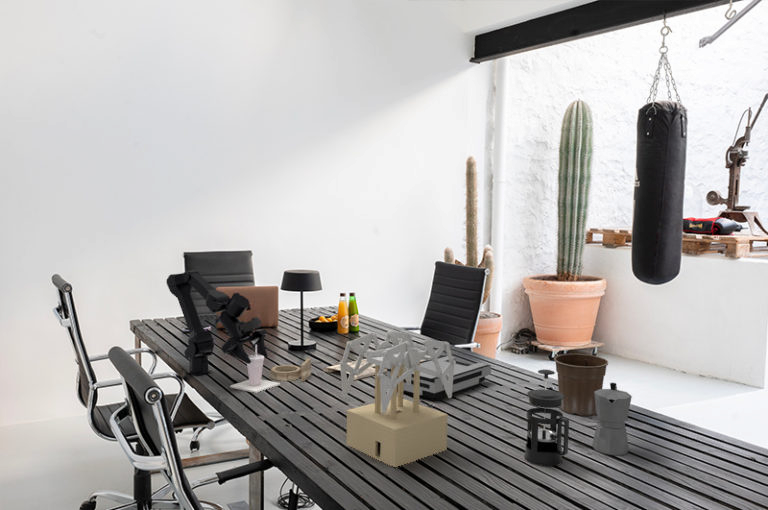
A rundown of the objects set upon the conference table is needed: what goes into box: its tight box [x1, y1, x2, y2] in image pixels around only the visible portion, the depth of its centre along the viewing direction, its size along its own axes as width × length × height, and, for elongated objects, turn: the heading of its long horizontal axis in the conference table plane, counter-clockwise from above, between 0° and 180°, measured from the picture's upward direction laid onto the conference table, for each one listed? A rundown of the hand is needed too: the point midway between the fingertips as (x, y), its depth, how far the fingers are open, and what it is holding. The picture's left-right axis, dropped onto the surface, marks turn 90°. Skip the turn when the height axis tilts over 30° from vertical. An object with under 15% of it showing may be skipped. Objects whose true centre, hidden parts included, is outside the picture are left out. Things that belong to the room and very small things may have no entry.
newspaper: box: [323, 358, 425, 381], centre depth 258 cm, size 37×19×3 cm, turn 134°
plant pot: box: [553, 353, 609, 417], centre depth 208 cm, size 16×16×16 cm
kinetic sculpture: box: [338, 330, 457, 468], centre depth 175 cm, size 25×20×30 cm
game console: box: [386, 354, 492, 402], centre depth 232 cm, size 21×32×8 cm, turn 137°
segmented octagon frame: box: [270, 357, 312, 382], centre depth 242 cm, size 13×10×6 cm
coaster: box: [229, 378, 281, 394], centre depth 230 cm, size 12×12×1 cm
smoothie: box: [246, 345, 265, 386], centre depth 229 cm, size 6×6×14 cm
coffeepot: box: [591, 382, 633, 456], centre depth 177 cm, size 15×9×18 cm, turn 159°
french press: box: [524, 369, 570, 467], centre depth 168 cm, size 12×9×23 cm
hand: (258, 360), depth 229 cm, fingers open, 9 cm apart
